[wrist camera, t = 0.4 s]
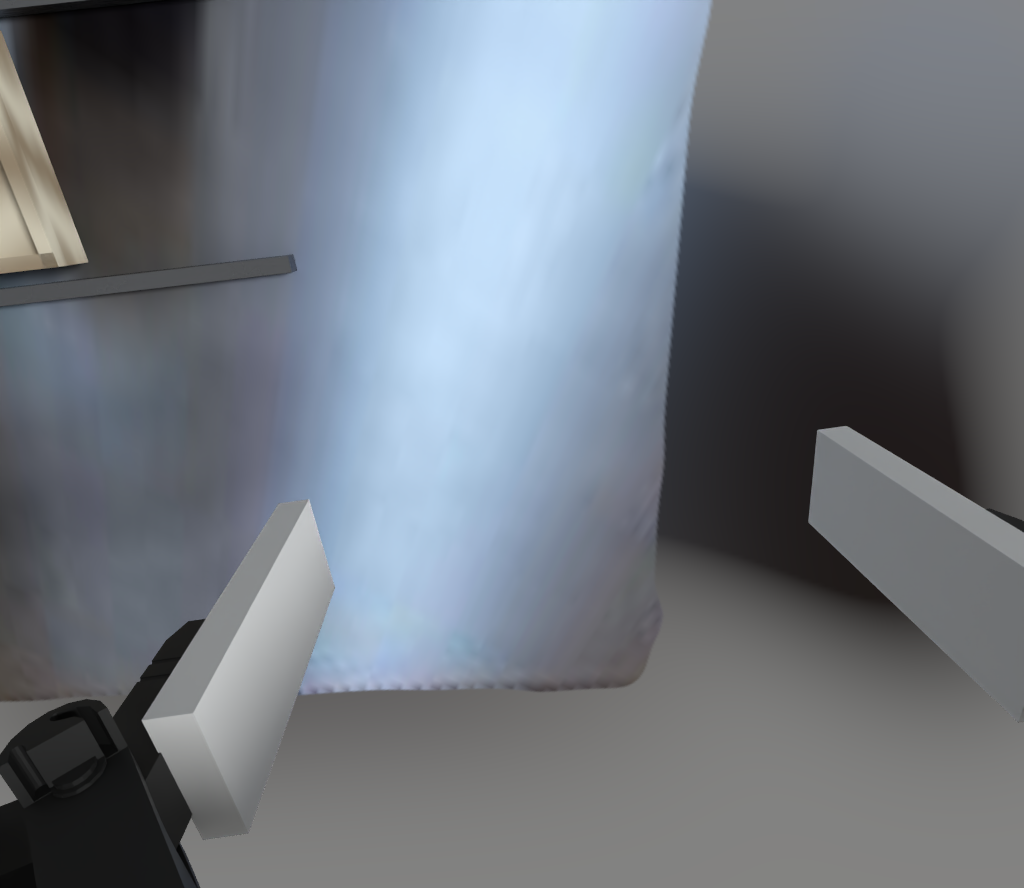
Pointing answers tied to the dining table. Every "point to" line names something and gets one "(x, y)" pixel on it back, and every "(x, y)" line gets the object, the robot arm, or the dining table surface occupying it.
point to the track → (17, 3)
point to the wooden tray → (29, 188)
